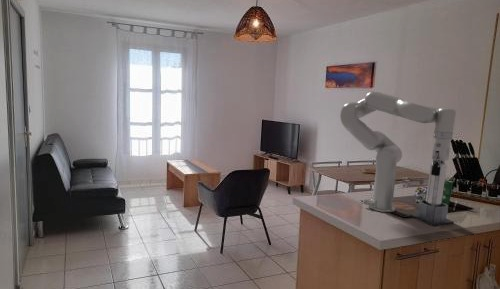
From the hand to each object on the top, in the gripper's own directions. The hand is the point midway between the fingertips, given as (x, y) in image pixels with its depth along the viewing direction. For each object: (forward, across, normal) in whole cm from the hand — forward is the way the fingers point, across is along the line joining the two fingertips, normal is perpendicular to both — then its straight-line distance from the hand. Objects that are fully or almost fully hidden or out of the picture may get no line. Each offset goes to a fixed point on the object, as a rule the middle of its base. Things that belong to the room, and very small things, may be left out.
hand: (437, 174), depth 166 cm
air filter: (+20, 0, 0) cm, 20 cm away
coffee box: (+22, +36, +5) cm, 43 cm away
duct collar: (+22, 0, 0) cm, 22 cm away
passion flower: (+22, +28, +11) cm, 38 cm away
